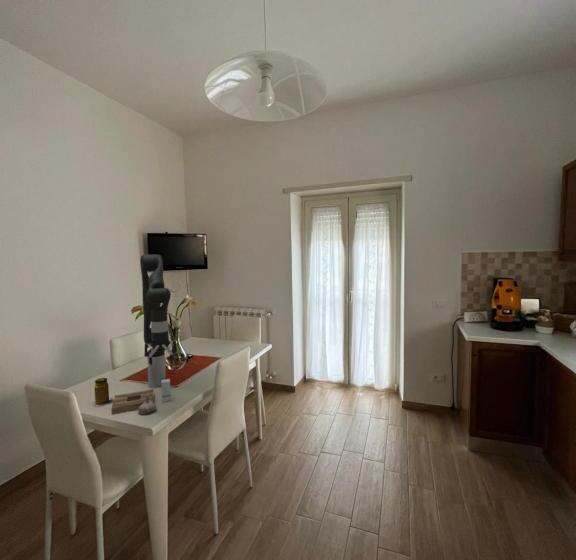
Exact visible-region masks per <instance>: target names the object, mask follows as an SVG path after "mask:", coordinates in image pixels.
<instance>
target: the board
mask: <svg viewBox="0 0 576 560" xmlns="http://www.w3.org/2000/svg"><path fill="white" fill-rule="evenodd" d="M147 396H149V399H148V401H149V400H150V401H152V402H154V403H155V400H154V398H155V397H154V396H155V392H154V389H153V388H152V389H147V390H146V389H145V390H140V391H136V392H129V393H122V394H115V395H114V397H113V399H114V401H113V402H112V405H111V415H115V413H117V414H120V413H121V412H122V413H127V411H128V412H132V411H138V408H139V406H140V405H142V404H143V403H144V402H145V401H146V397H147ZM122 413H121V414H122Z"/></svg>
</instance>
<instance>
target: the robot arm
mask: <svg viewBox="0 0 576 560" xmlns="http://www.w3.org/2000/svg"><path fill="white" fill-rule="evenodd" d="M139 261H140V273H141V282H142V283H141V284H142V285H141V286H142V309H143V310H142V311H143V341H144V357H146V358H147V375H148V376H147V377H148V378H147V379H148V380H147V381H148V382H147V383H148V387H150V388H158V387H162V382H161V380H165V379H166V375H167V374H166V353H165V352H168V354H169V363H172V362H173V361H174V354H176V353H177V352H178V351H177V350H178V349H177V343H176V342H177V341H176V339H173V340H170V337H169V333H170V332H169V321H168V308H169V304H170V303H169V302H170V300H171V291H170V289H169V288H167V287H165V281H164V261H163V256H162V255H160V254H152V253H151V254H142V255H140V260H139ZM148 272H152V273H151V274H150V275H149V274H148ZM170 345H171V346H172V347H173V350H172V349H171V348H170V347H169V346H170ZM150 347H152V348H151V349H149V348H150ZM148 349H149V350H148Z"/></svg>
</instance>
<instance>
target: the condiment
mask: <svg viewBox="0 0 576 560" xmlns="http://www.w3.org/2000/svg"><path fill="white" fill-rule="evenodd" d="M94 382H95V383H94V401H93V404H94V406H95V407H96V408H98V407H100V406H104V405H107V404H113V401H114V397H113V396H112V397H110V391H109V390H110V389H109V383H108V378H107V377H100V378H97V379H95V380H94ZM109 399H110V400H109Z"/></svg>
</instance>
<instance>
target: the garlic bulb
mask: <svg viewBox="0 0 576 560" xmlns="http://www.w3.org/2000/svg"><path fill="white" fill-rule="evenodd" d="M148 399H149V396H147V397H146V401H145V402H144V403H143V404H142V405H140V406H139V408H138V410H137V411H138V413H139V414H141V415H146V414H149V413H152V412H154V411H155V410H156V409H157V405H156V403H155V401H154V402H152V401H150V400H149V401H148Z"/></svg>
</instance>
